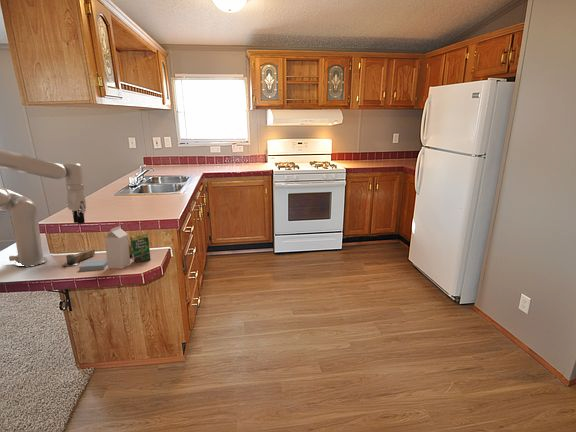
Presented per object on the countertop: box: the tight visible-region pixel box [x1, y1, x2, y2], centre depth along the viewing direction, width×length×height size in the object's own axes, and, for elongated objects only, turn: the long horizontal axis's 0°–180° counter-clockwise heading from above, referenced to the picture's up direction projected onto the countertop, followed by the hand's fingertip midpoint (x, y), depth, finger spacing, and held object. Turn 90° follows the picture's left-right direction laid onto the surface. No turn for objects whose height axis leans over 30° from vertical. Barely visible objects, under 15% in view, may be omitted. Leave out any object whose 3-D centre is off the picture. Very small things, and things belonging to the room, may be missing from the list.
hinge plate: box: [62, 261, 81, 268], centre depth 163 cm, size 7×7×1 cm
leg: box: [65, 248, 96, 265], centre depth 168 cm, size 16×3×4 cm, turn 169°
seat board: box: [78, 258, 108, 272], centre depth 160 cm, size 10×9×2 cm
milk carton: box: [104, 225, 131, 270], centre depth 159 cm, size 7×7×19 cm
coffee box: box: [130, 233, 151, 263], centre depth 167 cm, size 8×3×13 cm, turn 127°
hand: (79, 222), depth 175 cm, fingers open, 3 cm apart
